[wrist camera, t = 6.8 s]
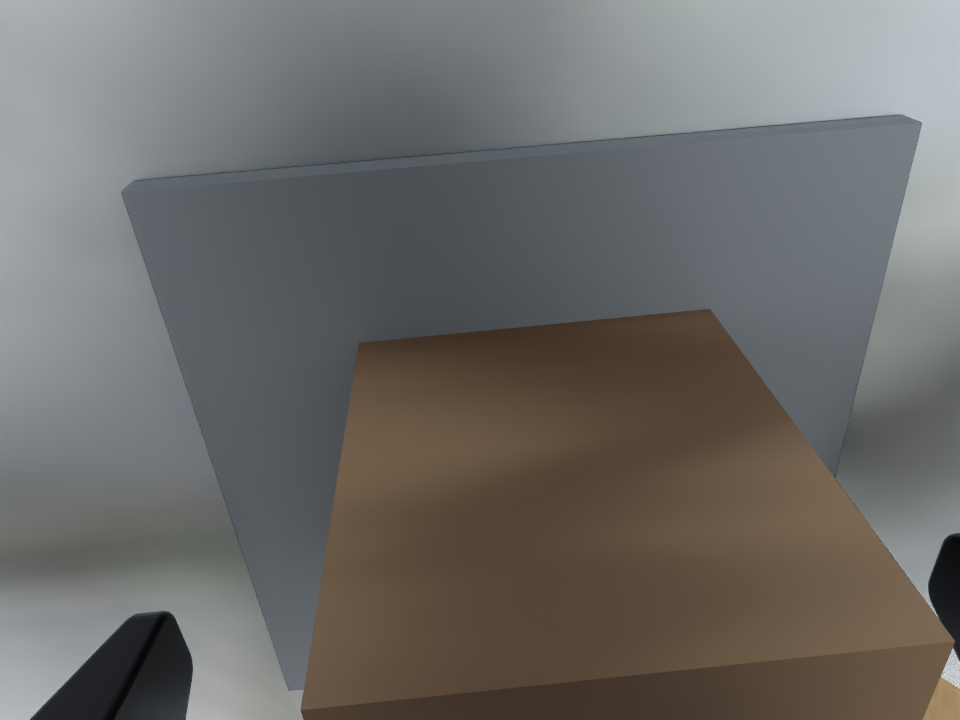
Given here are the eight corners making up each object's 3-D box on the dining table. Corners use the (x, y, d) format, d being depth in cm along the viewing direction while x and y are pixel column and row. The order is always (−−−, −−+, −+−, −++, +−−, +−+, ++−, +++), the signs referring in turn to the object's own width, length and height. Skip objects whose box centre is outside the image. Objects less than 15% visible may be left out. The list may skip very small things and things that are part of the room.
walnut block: (710, 308, 9) (954, 640, 5) (684, 557, 12) (834, 929, 7) (359, 342, 9) (299, 710, 5) (404, 586, 11) (392, 977, 7)
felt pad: (902, 114, 8) (922, 122, 8) (785, 621, 13) (795, 639, 13) (133, 181, 8) (121, 191, 8) (291, 670, 13) (289, 690, 13)
